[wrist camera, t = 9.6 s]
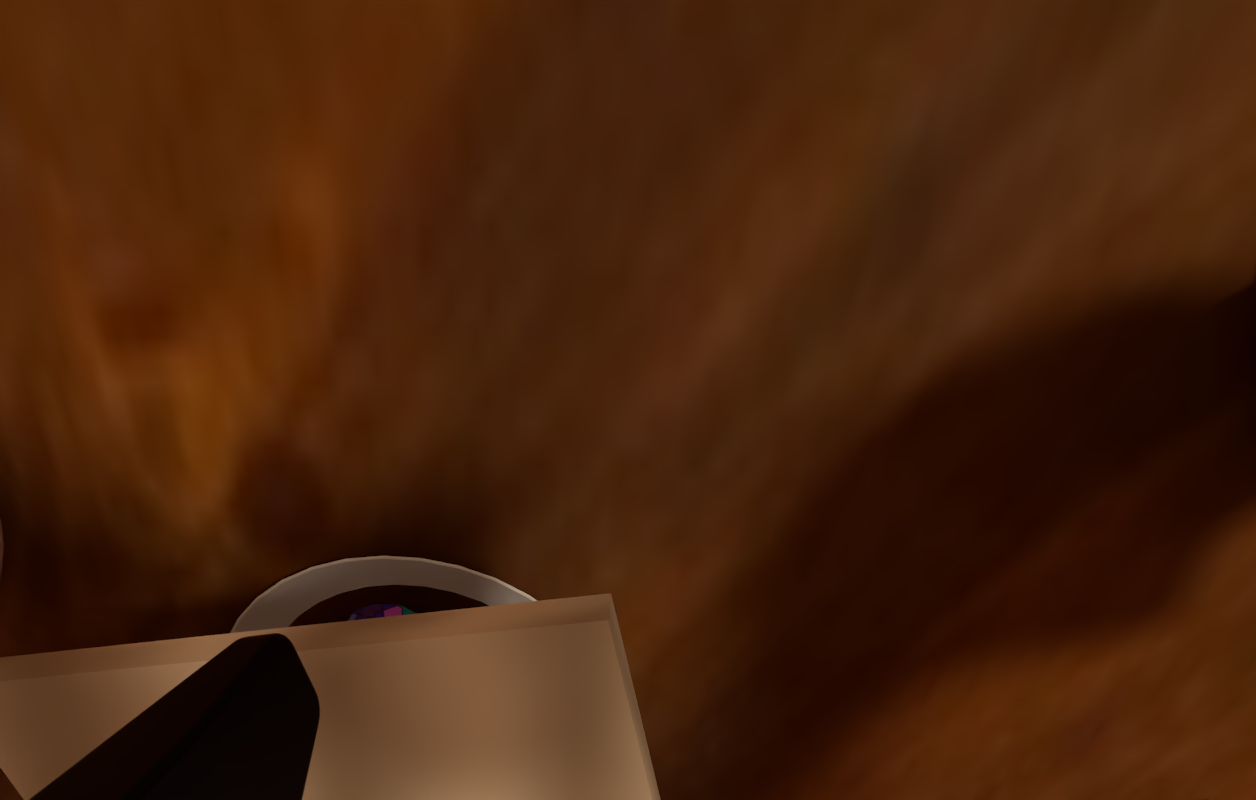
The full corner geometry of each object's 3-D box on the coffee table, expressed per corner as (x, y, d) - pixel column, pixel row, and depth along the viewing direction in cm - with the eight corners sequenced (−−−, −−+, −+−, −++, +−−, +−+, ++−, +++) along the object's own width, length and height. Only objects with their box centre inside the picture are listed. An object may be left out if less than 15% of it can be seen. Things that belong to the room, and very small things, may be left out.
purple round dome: (562, 856, 31) (541, 1021, 26) (216, 773, 30) (130, 929, 25) (670, 604, 25) (669, 756, 21) (250, 489, 24) (148, 623, 19)
